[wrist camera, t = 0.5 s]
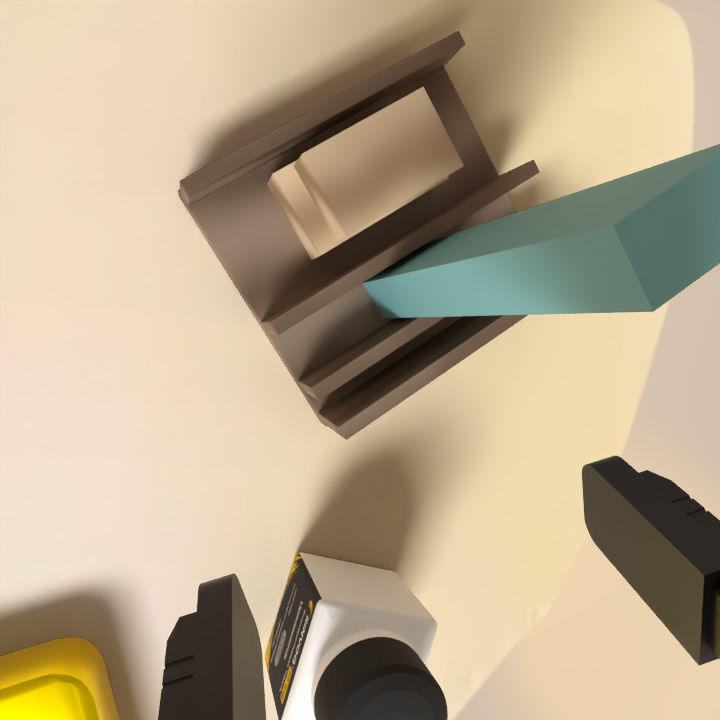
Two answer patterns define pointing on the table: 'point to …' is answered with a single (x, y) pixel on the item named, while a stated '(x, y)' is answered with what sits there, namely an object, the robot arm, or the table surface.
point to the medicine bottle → (351, 646)
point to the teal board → (571, 251)
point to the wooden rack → (352, 251)
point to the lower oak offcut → (312, 211)
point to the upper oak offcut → (378, 163)
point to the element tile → (56, 683)
